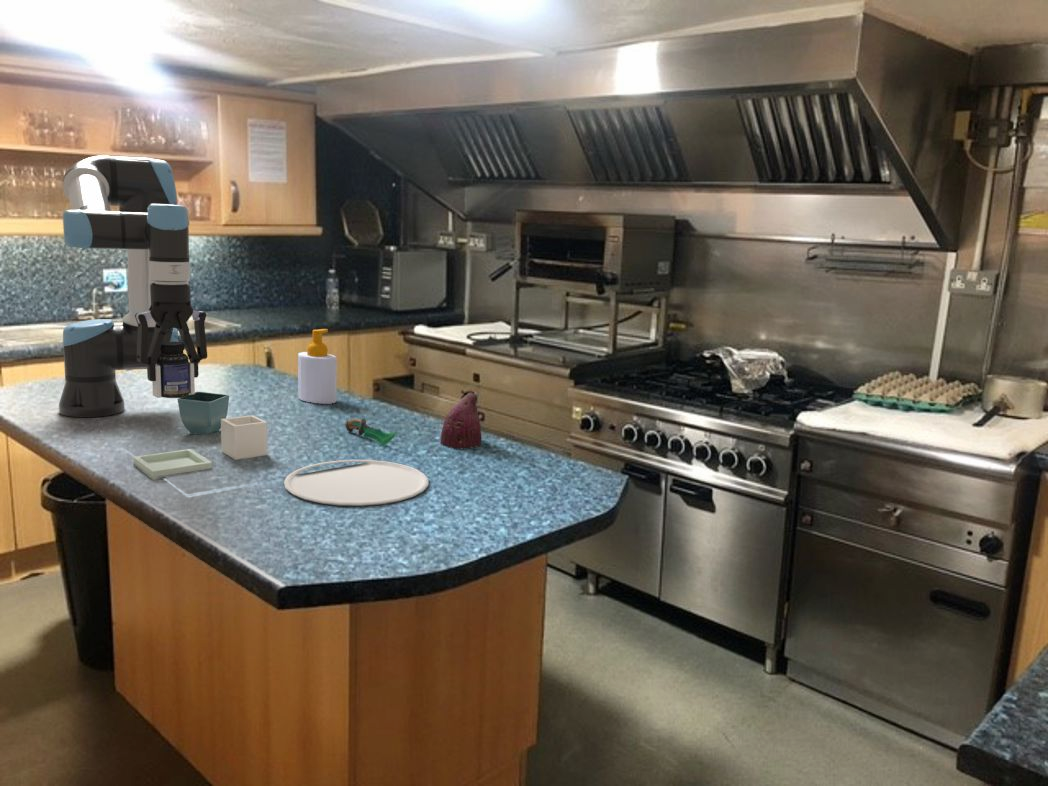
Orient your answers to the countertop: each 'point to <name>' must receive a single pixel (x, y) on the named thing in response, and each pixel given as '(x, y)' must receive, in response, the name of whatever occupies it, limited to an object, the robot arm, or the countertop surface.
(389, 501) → the plate
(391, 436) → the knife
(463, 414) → the vegetable
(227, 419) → the open cream box
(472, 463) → the countertop surface
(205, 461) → the tray
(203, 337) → the robot arm
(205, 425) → the flower pot
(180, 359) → the pill bottle
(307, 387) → the soap bottle
